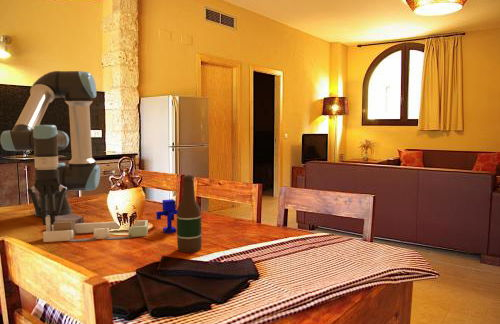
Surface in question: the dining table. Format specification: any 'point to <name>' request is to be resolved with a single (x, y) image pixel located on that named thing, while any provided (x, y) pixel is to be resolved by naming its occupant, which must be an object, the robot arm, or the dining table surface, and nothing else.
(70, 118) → the robot arm
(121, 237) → the grey thin bar
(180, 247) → the beer bottle
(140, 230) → the lane
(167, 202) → the figurine
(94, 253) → the dining table surface
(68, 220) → the block
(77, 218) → the stone
